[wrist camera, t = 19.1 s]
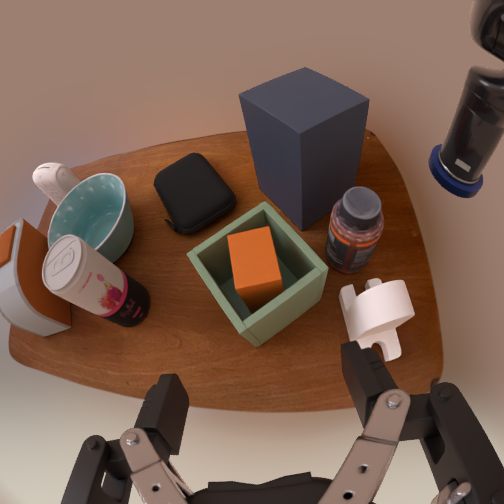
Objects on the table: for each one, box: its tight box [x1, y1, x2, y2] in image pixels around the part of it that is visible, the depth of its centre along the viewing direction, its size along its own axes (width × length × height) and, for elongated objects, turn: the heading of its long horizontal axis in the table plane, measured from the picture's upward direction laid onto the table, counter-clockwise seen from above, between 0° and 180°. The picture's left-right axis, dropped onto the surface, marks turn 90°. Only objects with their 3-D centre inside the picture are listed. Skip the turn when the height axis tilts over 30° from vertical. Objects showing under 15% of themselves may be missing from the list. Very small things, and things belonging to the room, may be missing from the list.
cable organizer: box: [339, 278, 415, 362], centre depth 26 cm, size 5×10×10 cm, turn 9°
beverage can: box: [42, 234, 150, 327], centre depth 30 cm, size 7×6×15 cm
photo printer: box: [33, 163, 80, 206], centre depth 43 cm, size 10×4×12 cm, turn 76°
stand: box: [239, 67, 369, 231], centre depth 33 cm, size 10×10×17 cm
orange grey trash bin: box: [0, 218, 72, 337], centre depth 34 cm, size 15×8×14 cm, turn 18°
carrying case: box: [154, 153, 236, 234], centre depth 42 cm, size 11×3×15 cm
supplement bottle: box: [326, 187, 384, 274], centre depth 30 cm, size 6×6×11 cm
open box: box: [187, 201, 329, 348], centre depth 30 cm, size 10×10×10 cm
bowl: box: [48, 173, 134, 263], centre depth 39 cm, size 16×16×8 cm
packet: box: [227, 226, 284, 314], centre depth 29 cm, size 4×5×10 cm
